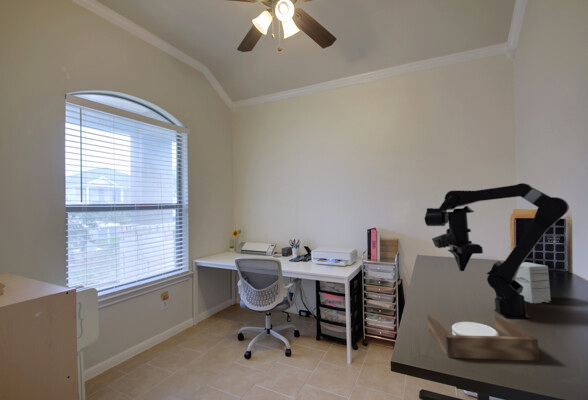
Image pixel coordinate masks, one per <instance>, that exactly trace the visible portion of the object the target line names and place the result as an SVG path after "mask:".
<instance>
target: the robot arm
mask: <svg viewBox="0 0 588 400" xmlns="http://www.w3.org/2000/svg"><path fill="white" fill-rule="evenodd" d="M517 197H518V198H519V197H521V198H522V199H524V200H525V201H527V202H529V203H530V204H532V205H534V207H537V209H536V212H535V215H534V218H533V220H532V223H531V224H530V225H529V227H528V228H527V229H526V231H525V233H524V234H523V235H522V236H521V238H520V239H519V241H518V242H517V243H516V245H515V246H514V248H512V251H511V252H510V253H509V255H507V258H506V259H505V260H504V261H503V262H501V261H500V260H498V261H496V262H495V263H493V265H492V267H491V269H490V271H488V272H487V273H486V274H487V275H488V276H487V278H486V281H487V283H488V286H490V287H491V288H492V289H493V290H494V292H495V298H494V304H495V305H494V306H495V309H494V311H495V312H496V313H498V314H499V315H500V316H501V317H503V318H505V319H530V316H529V315H528V314H526V303H525V302H526V301H524V296H523V295H521V294H520V293H522V290H523V286H522V285H521V284H519V283H518V282H517V281H516V280H515V277H516V275H517V273H518V270H519V267H520V265H521V264H522V263H523V262H524V261H525V260H526V259H527V257H528V256H529V255H530V254H531V253H532V251H533V250H534V248H535V247H536V245H537V244H538V243H539V242H540V240H541V238H542V237H543V236H544V235H545V233H546V232H547V231H549V229H550V228H551V227H552V226H554V224H556V223H557V222H558V221H559V220H561V218H563V217H564V216H565V215H566V214H567V213H569V210H570V206H569V204H568V202H567V201H566V199H564V198H561V197H558V196H557V197H553V196H549V195H547V194H545V193H544V192H542V191H540V190H538V189H537V188H534V187H533V186H531V185H530V184H528V183H523V182H522V183H518V184H513V185H512V184H511V185H505V186H499V187H498V186H497V187H492V188H491V187H490V188H485V189H479V190H449V191H447V192H446V194H445V196H444V200H443V201H442V204H441V205H440V206H439V207H429V208H428V207H427V208H426V212H425V215H424V222H425V225H426V227H445V226H446V224H448V228H447V229H446V230H445V231H446V233H444V234H443V233H442V234H440V235H438V236H435V237H433V238H431V240H432V242H433V244H434V246H435V248H438V249H442V248H444V249H445V248H449V249H447V252H450V253H451V254H452V255H453V257H454V259H455V262H456V265H457V266H458V269H459V271H460V272H464V271H465V269H467V266H468V264H469V261H470V259H471V258H472V255H473V254H474V255H475V254H477V255H480V254H483V253H484V252H483V251H484V250H483V249H484V248H483V247H482V246H481V245H480V244H478V243H475V242H474V243H472V240H470V237H469V236H470V235H469V233H472V231H471V228H469V225H468V224H469V223H468V214H469V213H474V210H473V209H472V208H471V207H469V206H468V205H472V204H475V203H477V202H484V201H492V200H500V199H508V198H510V199H511V198H517ZM463 206H464V207H463ZM459 207H463V208H459ZM451 210H453V211H451Z"/></svg>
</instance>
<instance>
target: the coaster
mask: <svg viewBox="0 0 588 400" xmlns="http://www.w3.org/2000/svg"><path fill="white" fill-rule="evenodd" d="M451 330H452V331H451V333H452V334H451V335H464V336H500V335H499V333H498V332H497V331H496V328H493V327H491V326H489V325H486V324H483V323H479V322H474V321H473V322H471V321H461V322H460V321H459V322H455V323H453V324H452V326H451Z"/></svg>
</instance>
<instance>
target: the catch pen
mask: <svg viewBox="0 0 588 400" xmlns="http://www.w3.org/2000/svg"><path fill="white" fill-rule="evenodd" d="M426 315H427V317H426V318H427V326H428V327H427V329H428V332H429V333H430V335H431V336H432V337H433V339H434V340H435V342H436V343H437V344H438V345H439V347H440V348H441V350H442V351H443V352H444V354H445V355H446V356H447V357H448V358H449V359H450V358H452V359H454V358H455V359H475V360H476V359H477V360H478V359H479V360H480V359H481V360H482V359H483V360H507V361H508V360H510V361H512V360H513V361H532V362H533V361H535V362H536V361H539V362H540V360H541V359H540V351H539V340H538V339H537V338H535V337H534V336H532V335H531V334H530V333H528V332H526V331H525V330H523V329H522V328H520V327H518V326H517V325H515V324H514V323H512V322H511V321H509V320H508V319H507V318H505V317H504V316H502V315H500V314H499V315H497V314H496V315H494V320H495V321H494V323H495V330H496V331H497V332H498V333H499V336H464V335H453V334H450V333H449V332H448V331H447V330H446V328H445V327H444V326H443V325H442V324H441V323H440V322H439V321H438V320H437V319H436V317H435V316H434V315H433V314H426Z"/></svg>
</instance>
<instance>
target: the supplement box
mask: <svg viewBox="0 0 588 400" xmlns="http://www.w3.org/2000/svg"><path fill="white" fill-rule="evenodd" d="M515 280H516V281H517V282H518V283H519V284H521V285H522V286H523V290H522V293H520V294H521V295H523V296H524V301H525V302H527V303H530V304H533V303H534V304H543V303H542V302H546V303H550V302H549V301H552V299H551V288H550V275H549V266H548V265H545V264H538V263H534V262H530V261H529V262H528V261H527V262H526V261H525V262H524V261H523V263H522V264H521V265H520V267H519V270H518V273H517V275H516V277H515Z"/></svg>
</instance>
